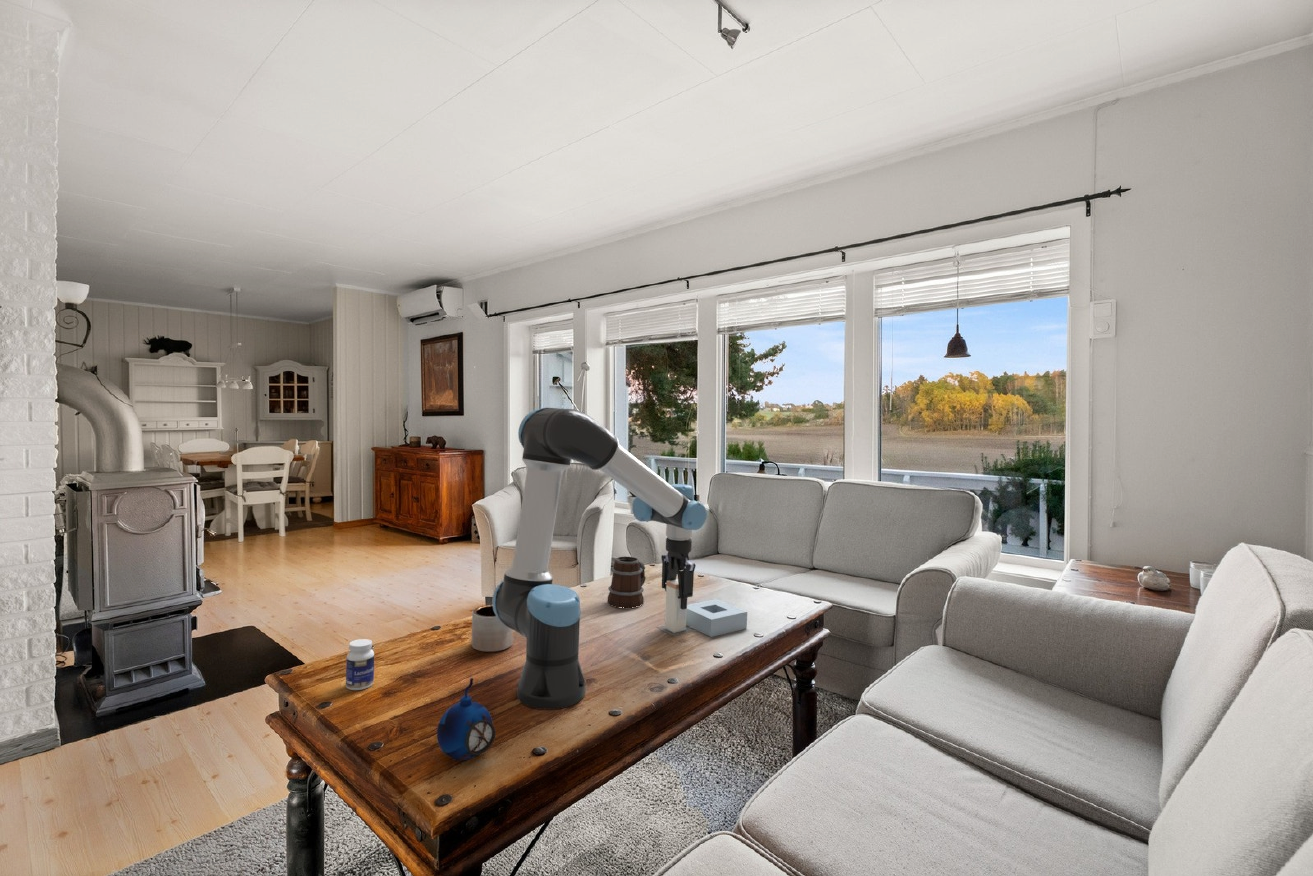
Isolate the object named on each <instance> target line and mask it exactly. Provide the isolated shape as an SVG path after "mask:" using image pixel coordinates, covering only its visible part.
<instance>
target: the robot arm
mask: <svg viewBox="0 0 1313 876" xmlns="http://www.w3.org/2000/svg"><path fill="white" fill-rule="evenodd" d="M517 434H518V440H519V443H520V444H521V447H522V448H523V452H522V457H521V458H522V462H523V463H524V465H525V466H526V468H527V469H526V475H525V481H524V487H523V494H522V501H521V507H520V514H519V519H518V520H519V521H518V527H517V534H516V541H515V546H514V553H513V559H512V565H511V566H510V567H509V568H507V569H506V570H504V574H503V575H504V576H503V579H502V580H501V582H500V583H499V584H498V585H497V586H496V588H495V590H494V591H493V594H492V600H491V603H492V604H491V605H493V610H494V613H495V615H496V616H497V618H498V619H499V620H500V621H501V622H502V623H503V624H504V625H505V626H507V627H509V628H511V629H513V631H515V632H516V633H518V634H520V635H521V636H523V637H525V639H526V646H525V647H526V649H525V651H526V653H525V655H526V656H525V663H524V665H523V669H522V671H521V674H520V677H519V680H518V683H517V687H516V688H517V689H516V690H517V691H516V697H517V700H518V701H519V702H520V703H521V704H523V706H524V705H525V706H527V707H530V708H533V709H538V710H539V709H540V710H557V709H558V710H559V709H564V708H567V707H571V706H573V705H575V704H577V703H579V702H580V701H582V700H583V698H584V697H585V696H586V681H585V678H584V674H583V670H582V667H581V663H580V661H579V654H580V653H579V649H580V648H579V647H580V645H579V644H580V620H581V619H580V618H581V613H582V611H581V603H580V602H581V601H580V596H579V595H578V593H577V592H576V591H575V590H573V589H571V588H569V587H568V586H565V585H559V584H553V581H554V579H553V578H554V576H553V575H552V573H551V572H550V571H549V566H550V565H549V564H550V558H551V551H552V546H553V545H552V544H553V537H554V531H555V525H556V518H557V510H558V505H559V499H560V491H561V484H562V479H563V473H564V472H565V471H566V470H567V469H568V468H570V467H571V461H572V460H573V461H575V462H578V463H581V464H583V465H585V466H586V467H587V468H590V469H591V470H593V471H601V472H602V473H604V474H605V475H606V476H608V477H609V478H610V479H612V480H613V481H614V482H616V483H618V484H619V485H620V486H622V487H623V488H624V489H625V490H627V491H629V493H631V494H633V495H634V496H635V498H634V499H633V500H632V508H631V510H632V515H633V516H634V518H635V520H637V521H639V522H646V523H648V522H657V523H662V524H665V526H666V527H665V528H666V529H665V536H666V538H665V551H666V552H667V554H661V564H662V566H661V568H662V569H661V573H662V574H661V588H662V589H664V591H665V592H666V582H667V581H670V580H676V579H678V584H679V596H678V599H677V620H683V619H686V608H687V605H688V598H692V597H693V595H694V580H695V579H694V578H695V577H694V575H695V569H696V563H695V562H694V563H692V562H691V561H690V556H689V553H690V552H692V543H693V540H692V537H693V531H697V530H700V529H701V528H703V527H704V525H705V523H706V520H707V515H708V514H707V508H706V507H705V505H704V504H703V503H702V502H699V501H696V500H695V499H694V487H693V486H692V485H690V484H683V483H675V484H674V483H672V484H670V483H668V481H666V480H665V479H663V478H662V477H661V476H659V475H658V474H657V473H656V472H655V471H653V470H652V469H651V468H649V467H648V466H647V465H646V464H644V462H642V461H640V460H639V459H638V458H637V457H635V456H634V455H633V454H632V453H630V451H628V450H627V449H625V448H624V447H623V446H622V445H621V444H620V442H619V438H618V437H617V436H616V434H614V433H612V432H611V431H610V430H608V429H607V428H606V427H605V426H604V425H602V424H601V423H600V422H599V421H597V420H595V419H594V418H592V417H591V416H590V415H588V414H586V412H585V413H584V412H582V411H580V410H577V409H575V408H559V407H557V408H556V407H542V408H537V409H534V410H532V411H530V412H529V413H528V414H526V415H525V416H524V417H523V419H522V420H521V422H520V424H519V427H518V432H517ZM683 593H684V594H683Z"/></svg>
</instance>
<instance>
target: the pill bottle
mask: <svg viewBox="0 0 1313 876" xmlns="http://www.w3.org/2000/svg"><path fill="white" fill-rule="evenodd" d="M348 646H349V647H348V650H349V652H347V655H346V661H345V662H346V665H345V666H346V667H345V669H346V670H345V687H346V689H348V690H351V691H362V690H365V689H368V688H370V687H371V686H373V685H374V682H375V681H374V678H375V652H374V650H373V649H372V647H373V641H372V640H371V639H369V638H368V639H367V638H359V639H355V640H352V641H350V642H349V644H348Z"/></svg>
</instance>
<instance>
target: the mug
mask: <svg viewBox="0 0 1313 876" xmlns="http://www.w3.org/2000/svg"><path fill="white" fill-rule="evenodd" d="M610 570H611V572H612V577H611V584H610V585H609V587H608V591H609V593H608V595H607V604H608V605H609V604H610V605H613V606H616V607H615V608H617V607H622V608H621V609H626V608H631V609H633V608H632V607H636V606H640V605H641V604H642V605H643V604H644V601H645V598H644V595H643V592H644V588H643V586H644V584H645V582H646V578H647V577H646V576H645V575H646V574H645V570H646V566H645V565H644V563H643V562H642V561H640V560H639V559H638V557H634V556H618V557H616V558H615V560H614V563H613V566H612V567H611V569H610ZM610 605H609V606H610ZM642 605H641V606H642ZM613 606H612V607H613ZM641 606H640V607H641ZM623 607H624V608H623ZM636 608H637V607H636Z"/></svg>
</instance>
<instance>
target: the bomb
mask: <svg viewBox="0 0 1313 876" xmlns="http://www.w3.org/2000/svg"><path fill="white" fill-rule="evenodd" d="M473 682H474V679H473V677H470V678H469V684H468V686H466V687H465V690H464V695H462V696H461V697H460V698H459V701H458V702H457V703H455V704H453V705H452V706H450V707H449V708H448V709H447V710H446V711H444V713H443V715H442V716H441V717H440V720H439V722H438V724H437V728H436V729H437V730H436V739H437V742H438V746H439V748H440V750H441V751H442V752H443V754H445V755H446V756H447V757H449V758H451V759H453V760H457V761H458V760H459V761H465V760H466V761H467V760H469V759H473V758H475V757H477V756H479V755H481V754H483V753H485V752H486V751H487V750H488V749H489V748H490V747H491V746H492V744H493V743H494V741H495V739H496V732H497V731H496V729H495V726H494V723H493V718H492V715H491V713H490V712H489V710H488V709H487V708H486V706H484V705H483V704H482V703H479V702H478V701H473V700H472V699H473V698H472V696H471V695H468V693H469V689H471V687H472V686H473Z"/></svg>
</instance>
